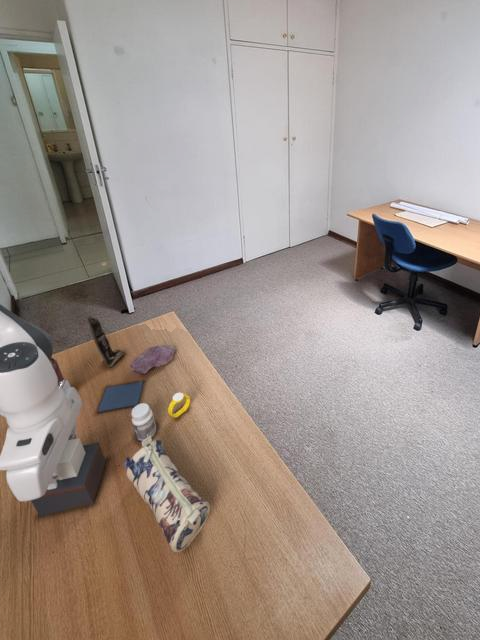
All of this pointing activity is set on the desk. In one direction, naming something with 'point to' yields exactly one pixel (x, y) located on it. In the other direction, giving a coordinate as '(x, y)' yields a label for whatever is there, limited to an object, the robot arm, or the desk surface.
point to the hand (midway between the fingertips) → (63, 461)
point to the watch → (176, 399)
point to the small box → (70, 459)
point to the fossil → (152, 358)
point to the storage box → (75, 485)
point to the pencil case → (167, 494)
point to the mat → (121, 396)
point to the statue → (104, 344)
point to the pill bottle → (143, 421)
